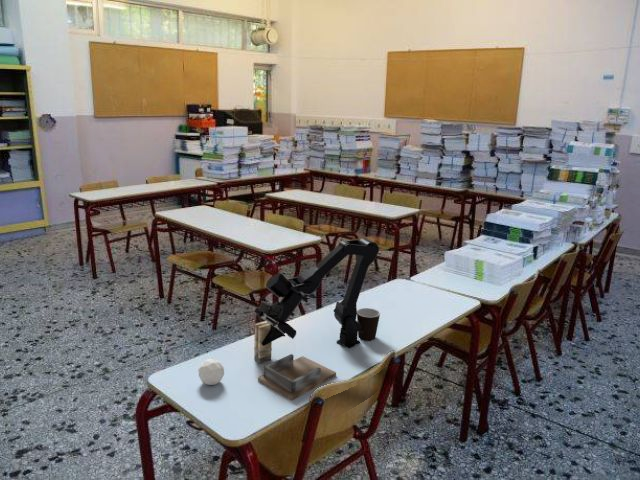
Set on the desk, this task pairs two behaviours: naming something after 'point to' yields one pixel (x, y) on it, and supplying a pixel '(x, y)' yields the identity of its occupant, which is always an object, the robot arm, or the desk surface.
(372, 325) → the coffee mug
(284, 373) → the walnut stand
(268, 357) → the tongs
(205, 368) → the ball
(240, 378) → the desk surface
